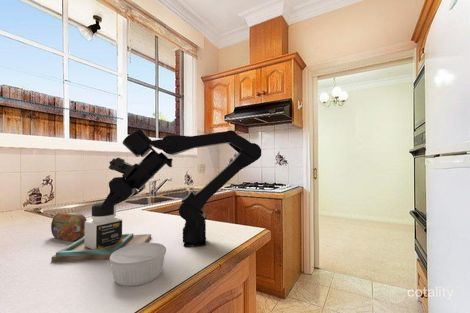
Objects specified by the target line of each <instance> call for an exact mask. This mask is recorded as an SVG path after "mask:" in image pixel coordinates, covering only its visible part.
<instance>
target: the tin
mask: <svg viewBox="0 0 470 313" xmlns="http://www.w3.org/2000/svg"><path fill="white" fill-rule="evenodd" d="M85 221H88V219H87V217H86V216H85V215H83V214H81V213H80V214H79V213H71V212H63V213H61V212H60V213H57V214H55V215H54V216H53V218H52V219H51V225H50V229H51V234H52V236H53V238H54V239H57V240H62V241H68V242H76V241H78V240H79V239H81V238H83V237H85Z"/></svg>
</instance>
